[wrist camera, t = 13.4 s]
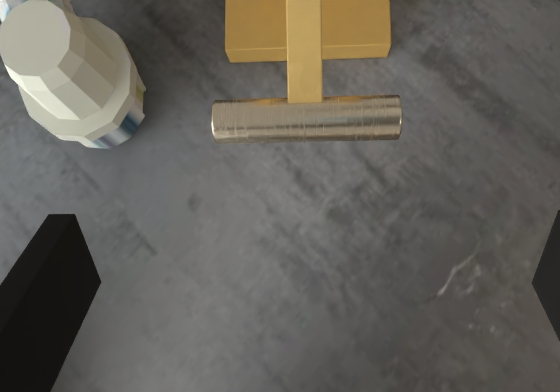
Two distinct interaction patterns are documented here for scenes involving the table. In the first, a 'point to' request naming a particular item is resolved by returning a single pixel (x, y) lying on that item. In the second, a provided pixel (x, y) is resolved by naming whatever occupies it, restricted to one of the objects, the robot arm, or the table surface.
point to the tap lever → (306, 98)
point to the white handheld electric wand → (71, 72)
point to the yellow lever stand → (335, 29)
